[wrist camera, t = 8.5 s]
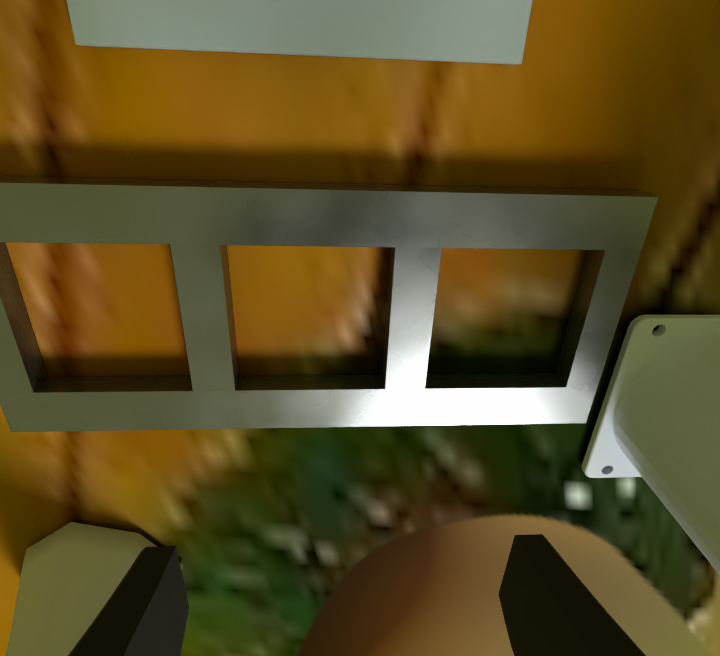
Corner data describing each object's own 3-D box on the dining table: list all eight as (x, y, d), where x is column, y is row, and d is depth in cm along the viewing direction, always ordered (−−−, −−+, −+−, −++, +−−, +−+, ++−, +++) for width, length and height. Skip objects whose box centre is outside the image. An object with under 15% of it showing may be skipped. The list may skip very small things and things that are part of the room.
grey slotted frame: (640, 190, 16) (658, 197, 15) (574, 407, 20) (585, 422, 19) (-62, 174, 14) (-87, 181, 13) (26, 415, 18) (11, 432, 18)
